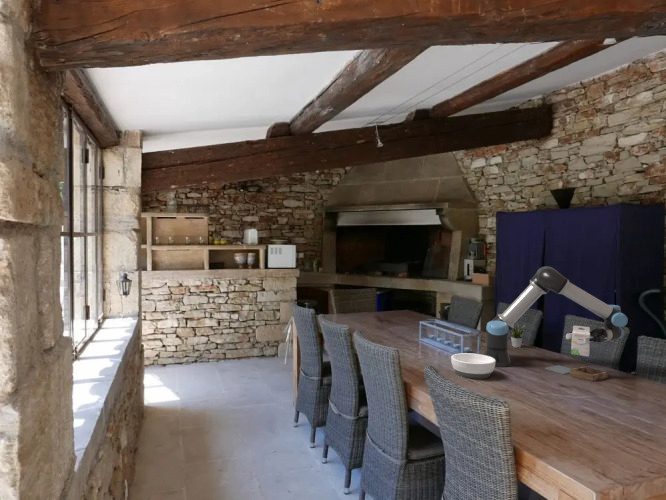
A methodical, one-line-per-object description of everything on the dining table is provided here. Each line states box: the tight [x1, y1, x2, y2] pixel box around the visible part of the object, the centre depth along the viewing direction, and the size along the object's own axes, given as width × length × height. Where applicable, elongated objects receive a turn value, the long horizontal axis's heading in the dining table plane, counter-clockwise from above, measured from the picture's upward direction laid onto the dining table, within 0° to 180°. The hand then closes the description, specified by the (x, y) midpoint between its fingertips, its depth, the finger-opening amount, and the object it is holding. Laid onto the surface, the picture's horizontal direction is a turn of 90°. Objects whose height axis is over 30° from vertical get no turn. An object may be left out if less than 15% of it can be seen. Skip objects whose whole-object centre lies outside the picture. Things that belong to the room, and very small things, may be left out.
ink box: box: [570, 325, 591, 357], centre depth 259 cm, size 9×5×15 cm, turn 62°
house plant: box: [509, 322, 526, 348], centre depth 323 cm, size 14×14×16 cm
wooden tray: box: [569, 366, 608, 382], centre depth 255 cm, size 12×12×3 cm
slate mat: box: [543, 364, 571, 375], centre depth 267 cm, size 12×12×1 cm
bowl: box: [450, 352, 496, 380], centre depth 257 cm, size 22×22×8 cm
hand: (575, 338), depth 257 cm, fingers closed on ink box, 9 cm apart
